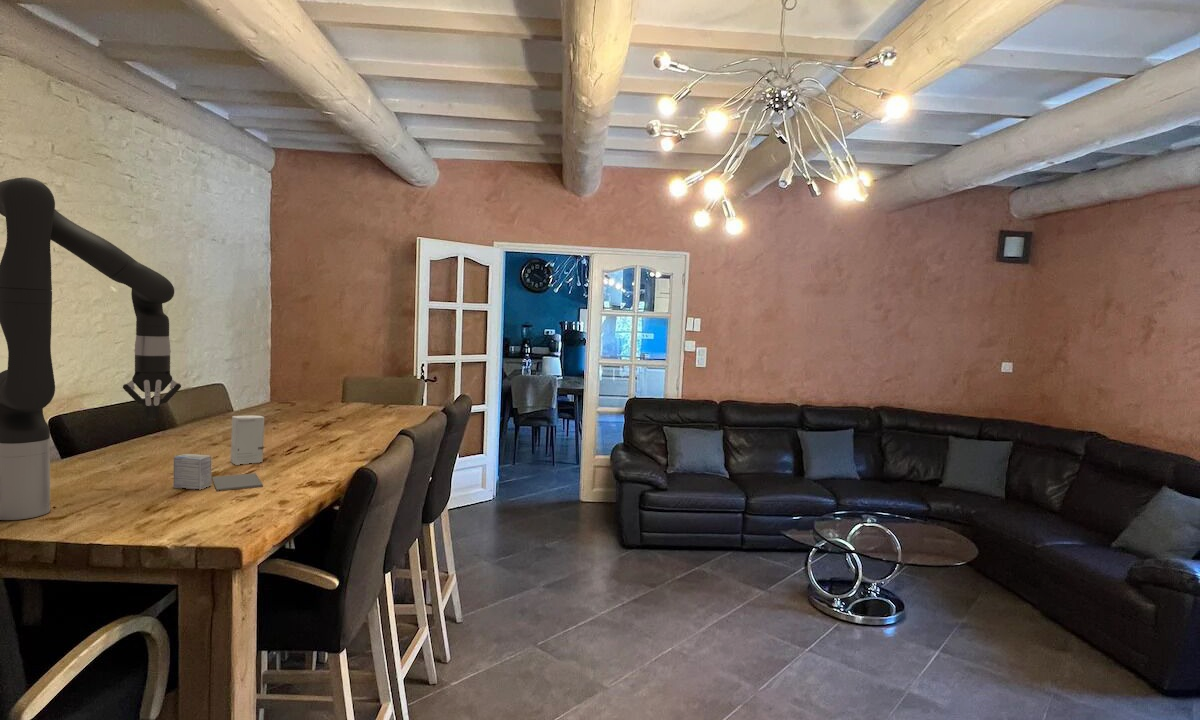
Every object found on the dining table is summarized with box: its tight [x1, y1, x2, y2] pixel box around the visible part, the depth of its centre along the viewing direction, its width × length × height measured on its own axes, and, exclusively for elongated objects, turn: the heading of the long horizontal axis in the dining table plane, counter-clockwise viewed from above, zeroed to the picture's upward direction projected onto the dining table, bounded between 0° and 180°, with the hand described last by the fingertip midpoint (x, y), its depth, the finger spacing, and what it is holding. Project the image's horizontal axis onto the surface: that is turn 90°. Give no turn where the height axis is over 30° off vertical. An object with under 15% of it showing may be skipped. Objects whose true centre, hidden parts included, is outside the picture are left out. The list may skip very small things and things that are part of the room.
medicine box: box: [173, 453, 212, 491], centre depth 171 cm, size 8×4×9 cm, turn 84°
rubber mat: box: [211, 472, 264, 492], centre depth 177 cm, size 11×14×1 cm
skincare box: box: [230, 414, 265, 466], centre depth 200 cm, size 8×6×15 cm
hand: (152, 419), depth 165 cm, fingers closed
